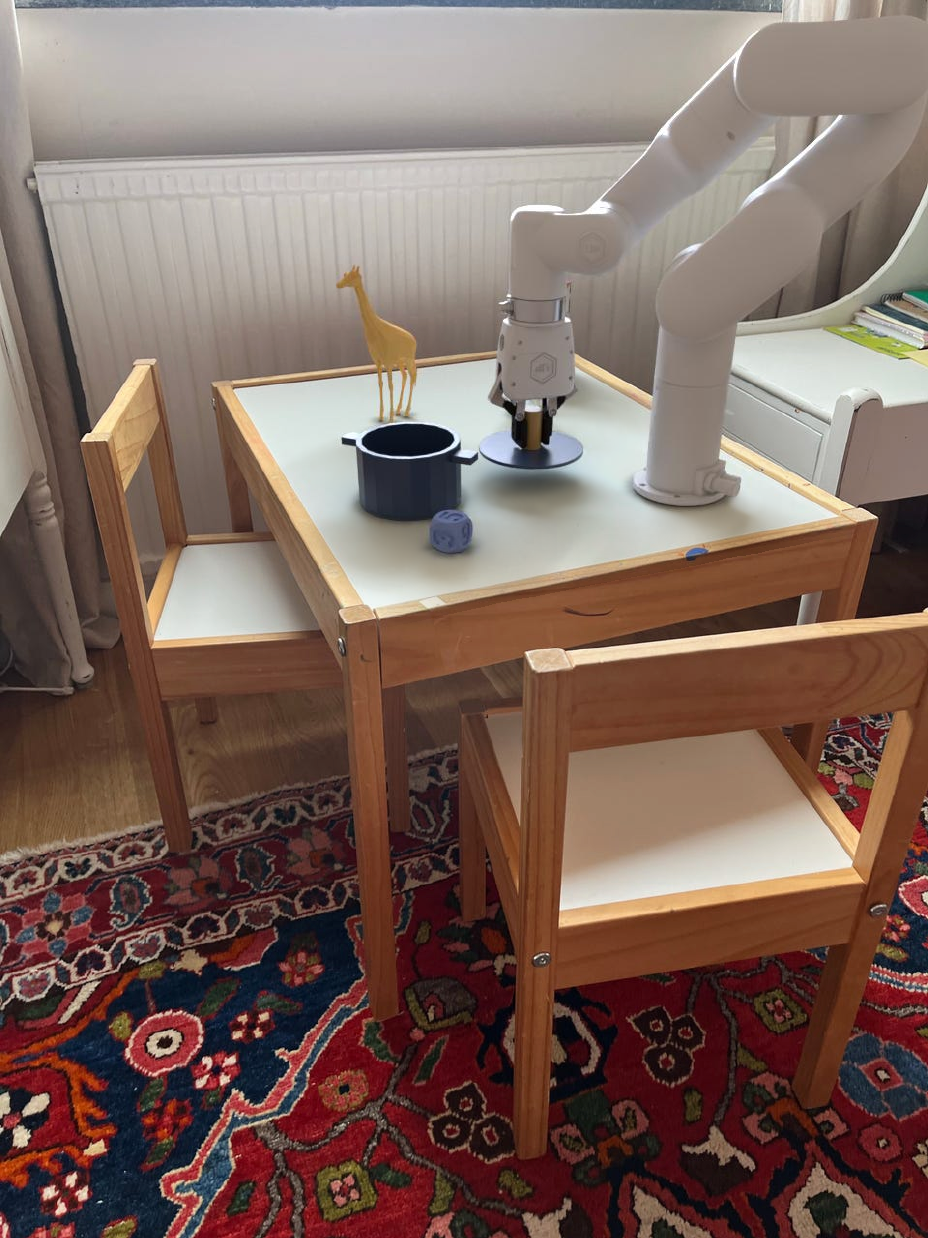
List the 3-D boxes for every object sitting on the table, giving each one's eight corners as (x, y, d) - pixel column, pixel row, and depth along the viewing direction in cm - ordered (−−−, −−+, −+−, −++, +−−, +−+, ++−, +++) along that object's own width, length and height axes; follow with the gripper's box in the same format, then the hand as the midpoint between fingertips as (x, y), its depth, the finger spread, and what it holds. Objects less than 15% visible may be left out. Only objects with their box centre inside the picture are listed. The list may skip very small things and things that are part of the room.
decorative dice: (444, 536, 121) (443, 507, 119) (473, 542, 119) (472, 512, 117) (429, 549, 118) (428, 519, 116) (458, 555, 116) (458, 525, 114)
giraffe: (359, 438, 151) (347, 271, 138) (339, 432, 153) (325, 267, 140) (427, 410, 161) (423, 253, 149) (408, 405, 164) (401, 250, 151)
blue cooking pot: (452, 531, 122) (451, 468, 117) (323, 506, 129) (318, 446, 124) (495, 492, 132) (495, 432, 128) (374, 470, 139) (370, 413, 135)
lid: (561, 481, 128) (564, 433, 125) (461, 463, 133) (461, 417, 130) (596, 444, 139) (599, 400, 136) (503, 429, 145) (504, 386, 141)
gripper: (488, 321, 120) (486, 460, 130) (605, 310, 125) (595, 445, 135) (468, 307, 127) (467, 441, 136) (580, 297, 131) (572, 427, 141)
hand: (531, 441), depth 135 cm, fingers closed on lid, 2 cm apart
